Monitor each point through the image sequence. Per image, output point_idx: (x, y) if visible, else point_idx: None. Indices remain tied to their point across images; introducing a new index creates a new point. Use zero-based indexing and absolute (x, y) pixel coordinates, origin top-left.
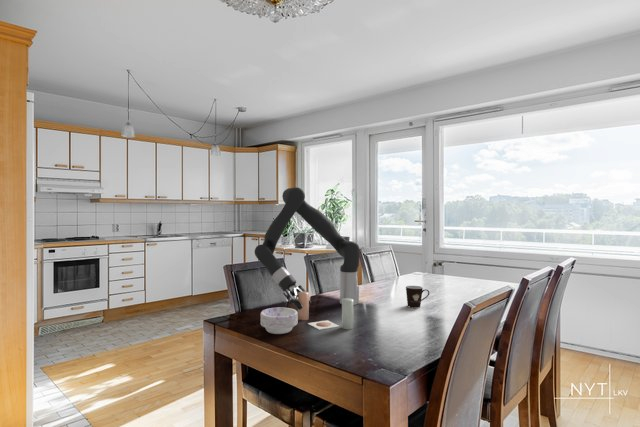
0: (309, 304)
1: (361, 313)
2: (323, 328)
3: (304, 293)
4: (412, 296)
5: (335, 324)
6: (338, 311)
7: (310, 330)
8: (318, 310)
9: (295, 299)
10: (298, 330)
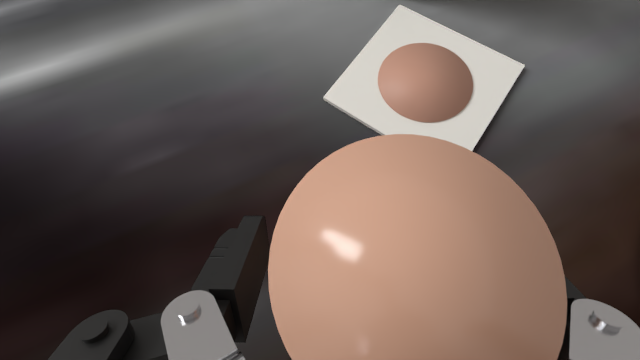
0: (266, 235)
1: (90, 2)
2: (496, 52)
3: (496, 193)
4: None
5: (385, 29)
6: (69, 125)
7: (563, 105)
8: (67, 269)
9: (634, 333)
10: (618, 167)
